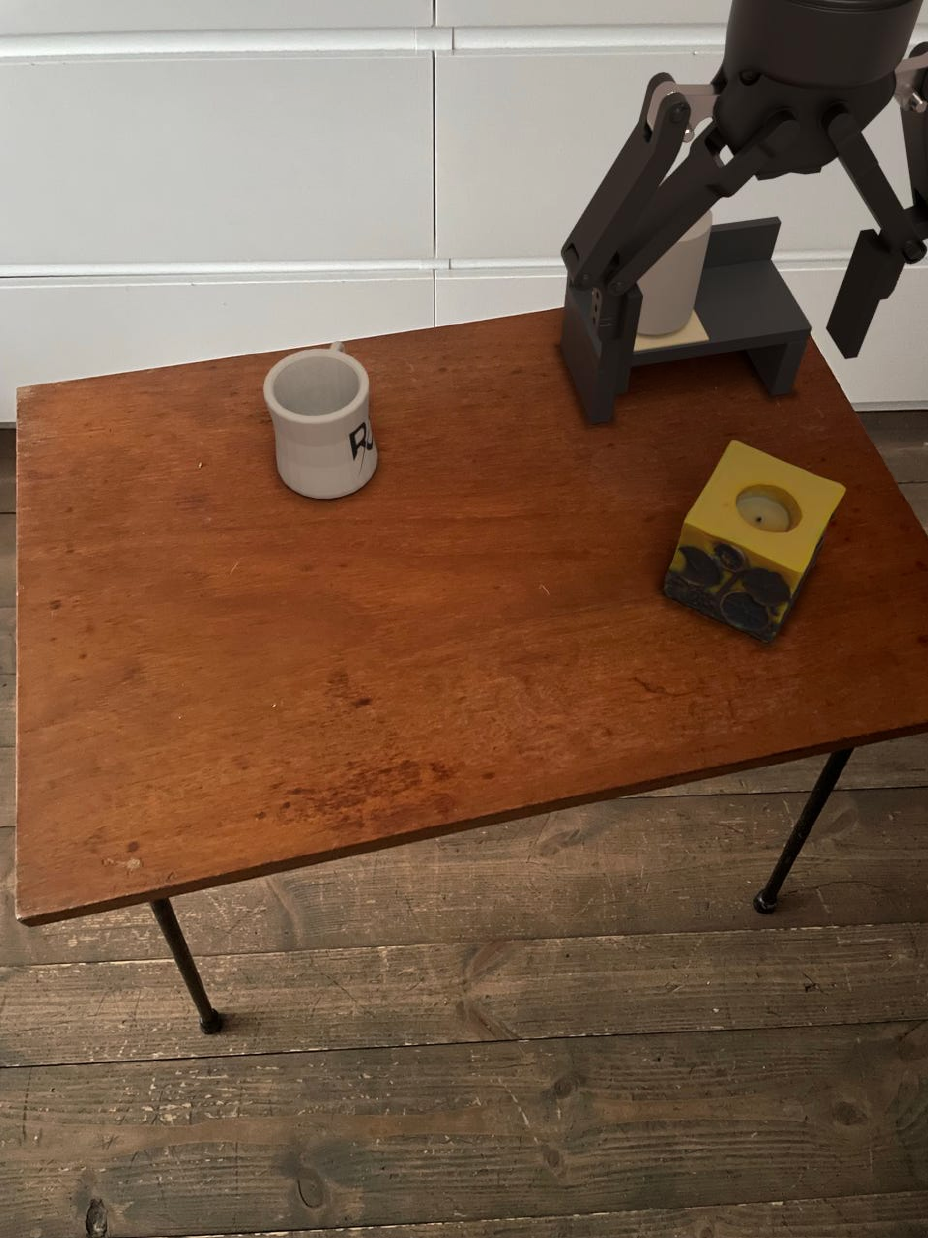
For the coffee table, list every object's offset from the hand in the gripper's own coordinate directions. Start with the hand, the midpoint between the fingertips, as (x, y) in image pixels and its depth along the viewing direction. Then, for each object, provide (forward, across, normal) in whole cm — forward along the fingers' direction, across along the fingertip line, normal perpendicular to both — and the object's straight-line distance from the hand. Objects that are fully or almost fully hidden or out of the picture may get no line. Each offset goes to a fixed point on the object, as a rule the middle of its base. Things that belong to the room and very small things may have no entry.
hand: (728, 360), depth 60 cm
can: (+23, -8, -30) cm, 39 cm away
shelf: (+31, -12, -31) cm, 46 cm away
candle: (+31, -10, -6) cm, 33 cm away
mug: (+31, +22, -27) cm, 47 cm away
